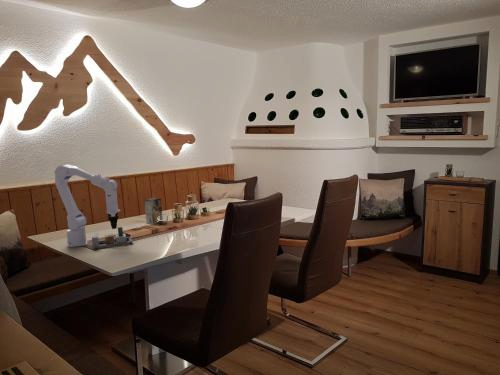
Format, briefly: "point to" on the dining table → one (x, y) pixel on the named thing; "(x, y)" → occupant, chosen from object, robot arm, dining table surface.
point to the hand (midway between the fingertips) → (114, 227)
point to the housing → (109, 239)
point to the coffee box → (153, 210)
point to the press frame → (96, 244)
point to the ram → (120, 236)
